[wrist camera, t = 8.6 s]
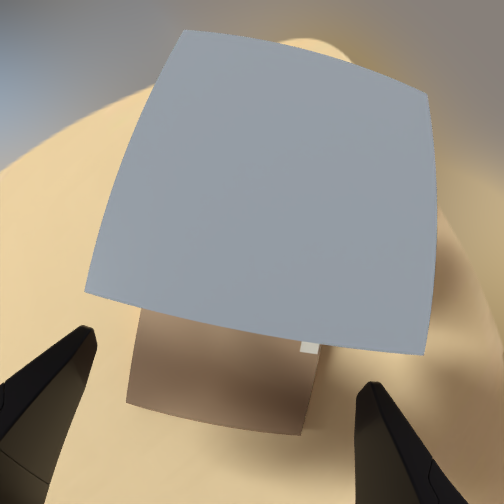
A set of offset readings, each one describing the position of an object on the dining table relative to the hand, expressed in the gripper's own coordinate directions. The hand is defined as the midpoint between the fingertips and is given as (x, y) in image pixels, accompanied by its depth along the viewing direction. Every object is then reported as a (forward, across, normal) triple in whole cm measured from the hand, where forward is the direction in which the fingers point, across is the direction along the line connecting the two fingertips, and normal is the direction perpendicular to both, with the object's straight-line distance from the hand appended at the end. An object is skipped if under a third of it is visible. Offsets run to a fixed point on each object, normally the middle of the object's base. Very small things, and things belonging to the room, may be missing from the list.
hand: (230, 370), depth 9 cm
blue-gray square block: (+7, -1, 0) cm, 7 cm away
